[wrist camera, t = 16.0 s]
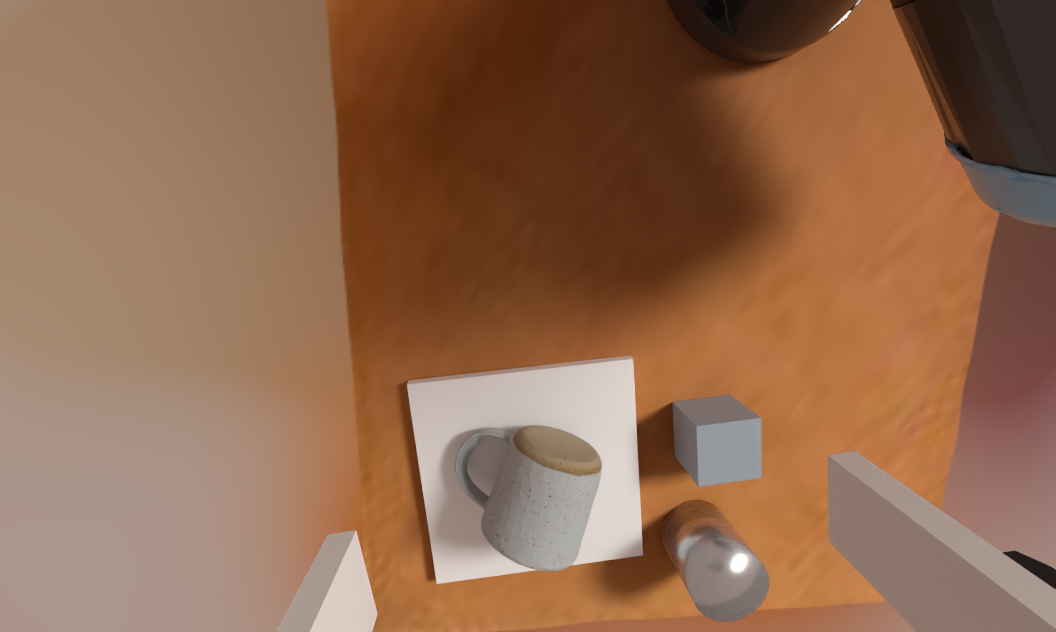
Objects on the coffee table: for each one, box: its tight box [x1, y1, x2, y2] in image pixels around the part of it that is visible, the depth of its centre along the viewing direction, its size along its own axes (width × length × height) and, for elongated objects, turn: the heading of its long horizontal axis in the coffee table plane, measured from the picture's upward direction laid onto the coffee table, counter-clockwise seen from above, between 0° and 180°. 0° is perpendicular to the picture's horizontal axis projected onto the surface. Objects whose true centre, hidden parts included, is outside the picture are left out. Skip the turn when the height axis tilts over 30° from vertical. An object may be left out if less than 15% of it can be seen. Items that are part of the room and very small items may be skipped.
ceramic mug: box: [455, 425, 602, 571], centre depth 36 cm, size 11×8×8 cm
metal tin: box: [661, 500, 769, 622], centre depth 40 cm, size 6×6×7 cm
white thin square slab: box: [407, 355, 643, 584], centre depth 41 cm, size 18×18×1 cm
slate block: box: [672, 395, 761, 487], centre depth 40 cm, size 5×5×5 cm
